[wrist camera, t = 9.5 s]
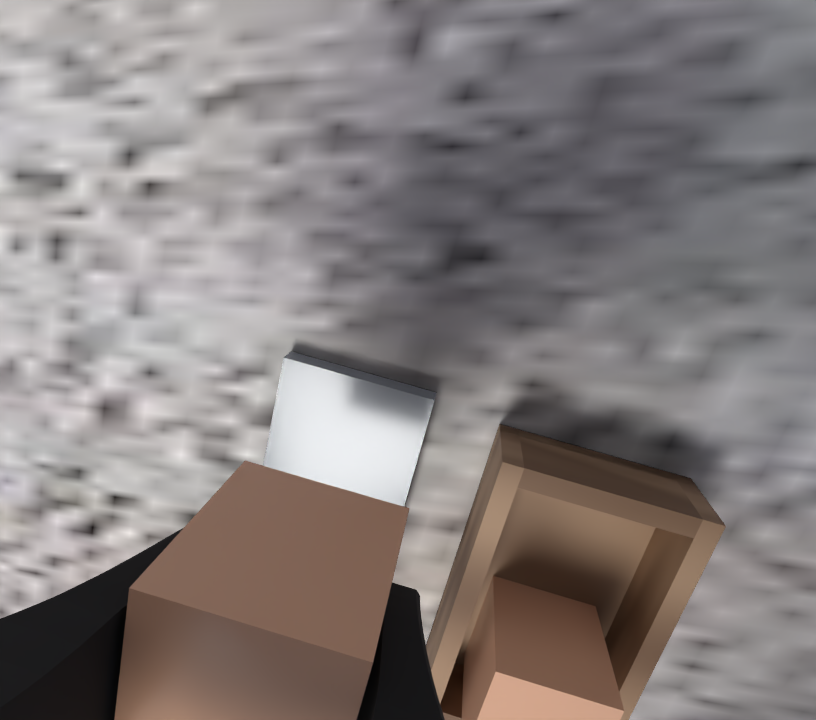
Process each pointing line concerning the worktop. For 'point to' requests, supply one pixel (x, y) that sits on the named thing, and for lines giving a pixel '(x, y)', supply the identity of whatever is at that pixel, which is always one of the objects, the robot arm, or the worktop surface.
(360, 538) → the tan cube
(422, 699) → the robot arm
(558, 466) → the walnut bin
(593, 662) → the peach cube
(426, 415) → the slate board
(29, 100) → the worktop surface
